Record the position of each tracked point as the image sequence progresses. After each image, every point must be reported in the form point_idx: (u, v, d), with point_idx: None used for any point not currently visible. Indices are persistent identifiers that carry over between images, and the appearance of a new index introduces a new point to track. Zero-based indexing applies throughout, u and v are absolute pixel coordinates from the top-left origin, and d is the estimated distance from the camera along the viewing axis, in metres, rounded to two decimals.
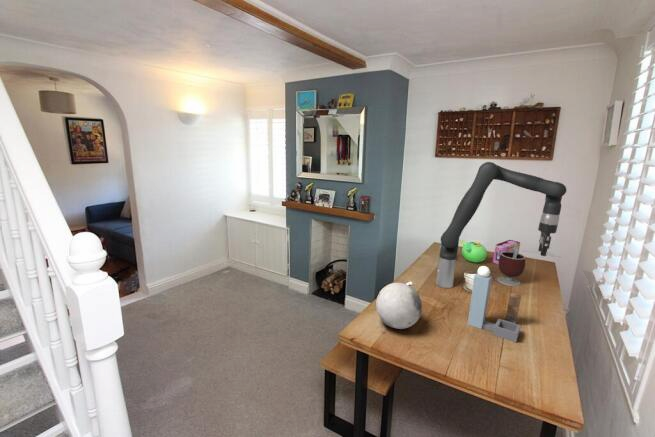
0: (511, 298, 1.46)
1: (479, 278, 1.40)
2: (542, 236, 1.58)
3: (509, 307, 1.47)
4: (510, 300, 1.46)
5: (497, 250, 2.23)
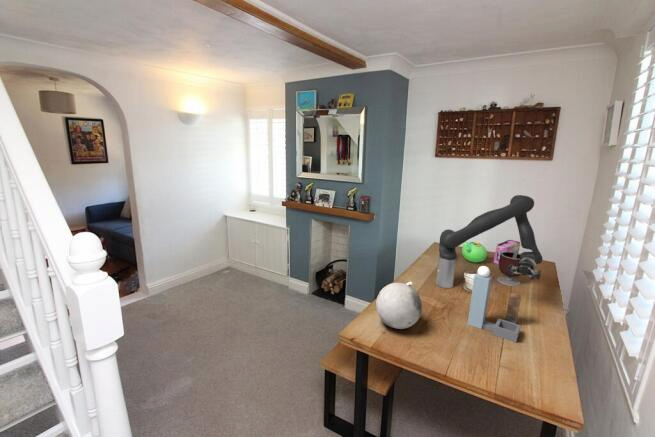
0: (511, 298, 1.46)
1: (479, 278, 1.40)
2: (529, 268, 1.59)
3: (509, 307, 1.47)
4: (510, 300, 1.46)
5: (498, 250, 2.22)
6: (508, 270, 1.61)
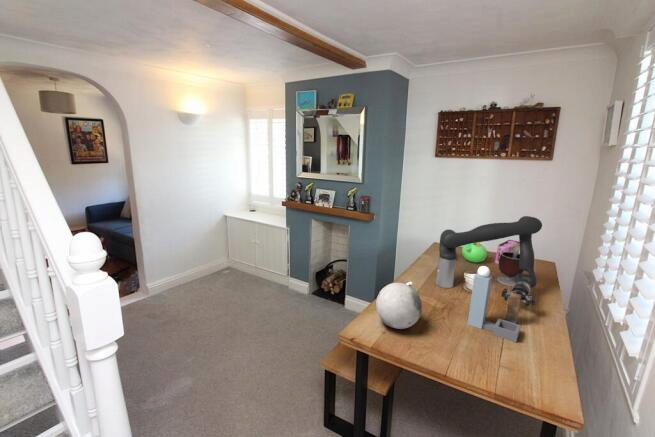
0: (511, 298, 1.46)
1: (479, 278, 1.40)
2: (524, 293, 1.58)
3: (509, 307, 1.47)
4: (510, 300, 1.46)
5: (499, 251, 2.22)
6: (503, 295, 1.60)
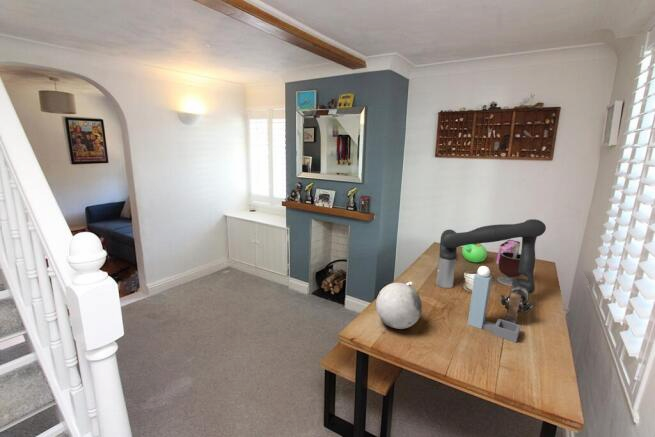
0: (511, 298, 1.46)
1: (479, 278, 1.40)
2: (521, 299, 1.51)
3: (509, 307, 1.47)
4: (510, 300, 1.46)
5: (501, 251, 2.21)
6: (503, 303, 1.51)
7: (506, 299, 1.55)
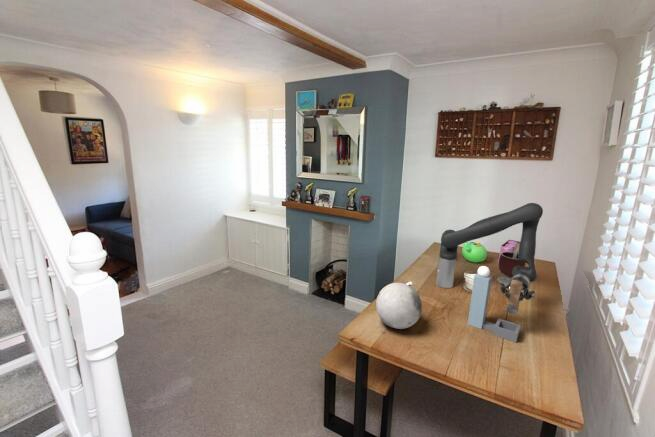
0: (511, 285, 1.36)
1: (479, 278, 1.40)
2: (522, 287, 1.42)
3: (510, 295, 1.37)
4: (511, 287, 1.36)
5: (503, 251, 2.20)
6: (504, 291, 1.42)
7: (506, 287, 1.45)
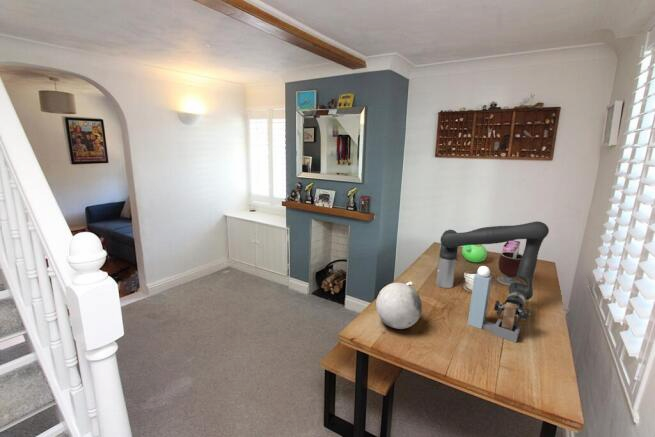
0: (506, 308, 1.36)
1: (479, 278, 1.40)
2: None
3: (504, 318, 1.38)
4: (505, 310, 1.37)
5: None
6: (496, 309, 1.43)
7: (501, 305, 1.46)
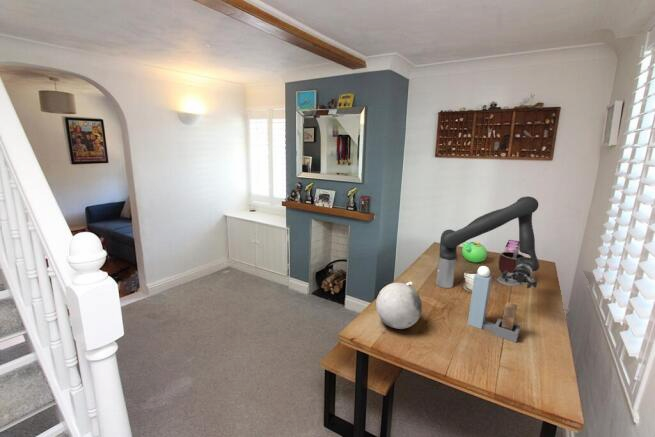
0: (506, 308, 1.37)
1: (479, 278, 1.40)
2: (525, 275, 1.49)
3: (504, 318, 1.38)
4: (505, 310, 1.37)
5: None
6: (503, 276, 1.51)
7: None
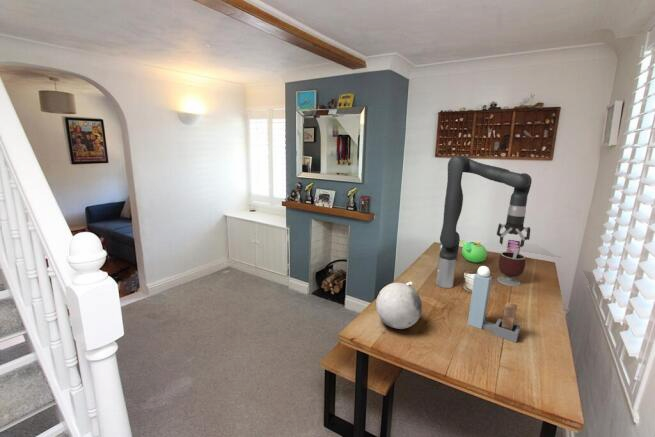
0: (506, 308, 1.37)
1: (479, 278, 1.40)
2: (518, 229, 1.56)
3: (504, 318, 1.38)
4: (505, 310, 1.37)
5: None
6: None
7: (504, 226, 1.60)
